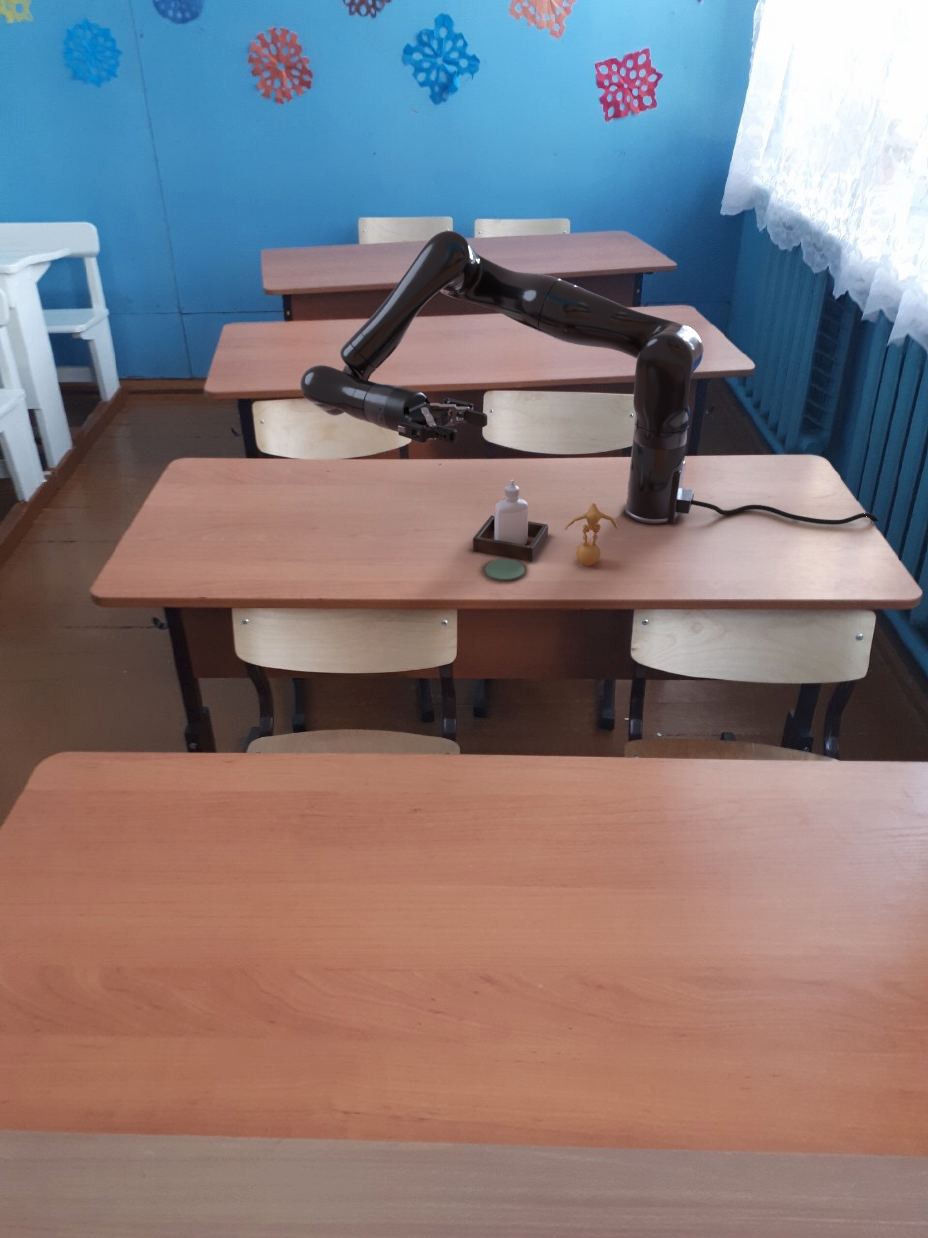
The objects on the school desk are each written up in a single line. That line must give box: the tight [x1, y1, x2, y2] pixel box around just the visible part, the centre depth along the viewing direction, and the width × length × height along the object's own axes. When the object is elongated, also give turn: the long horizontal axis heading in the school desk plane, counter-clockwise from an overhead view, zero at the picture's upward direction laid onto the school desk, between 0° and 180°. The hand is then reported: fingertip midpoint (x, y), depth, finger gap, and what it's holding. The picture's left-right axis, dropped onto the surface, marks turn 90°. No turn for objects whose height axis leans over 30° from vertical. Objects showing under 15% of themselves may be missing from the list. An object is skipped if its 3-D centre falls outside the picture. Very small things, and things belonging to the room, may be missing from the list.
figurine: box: [564, 502, 618, 567], centre depth 141 cm, size 8×6×12 cm
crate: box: [472, 515, 549, 562], centre depth 150 cm, size 11×9×2 cm
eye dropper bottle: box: [493, 479, 529, 545], centre depth 148 cm, size 4×6×12 cm
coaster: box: [485, 558, 525, 582], centre depth 143 cm, size 6×6×1 cm
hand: (471, 428), depth 145 cm, fingers open, 8 cm apart
